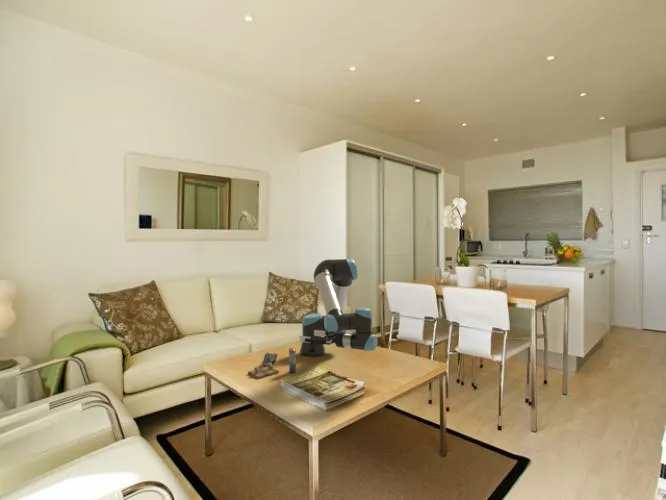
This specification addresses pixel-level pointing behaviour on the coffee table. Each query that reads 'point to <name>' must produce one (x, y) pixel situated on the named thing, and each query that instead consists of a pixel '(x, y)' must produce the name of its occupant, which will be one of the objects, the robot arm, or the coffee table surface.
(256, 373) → the peg rack
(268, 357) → the mineral specimen
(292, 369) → the pin
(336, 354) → the coffee table surface
